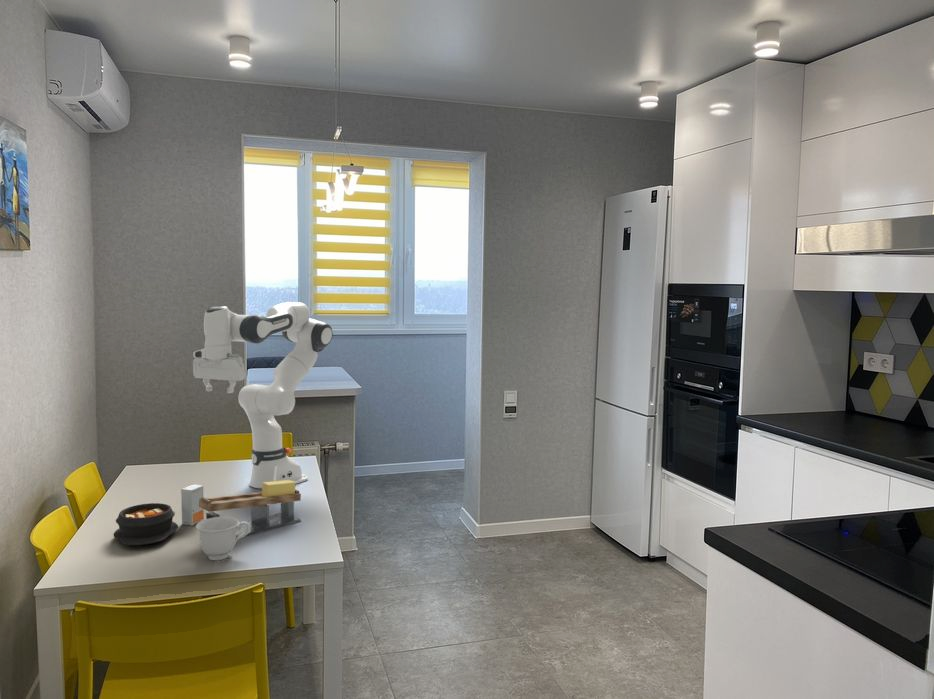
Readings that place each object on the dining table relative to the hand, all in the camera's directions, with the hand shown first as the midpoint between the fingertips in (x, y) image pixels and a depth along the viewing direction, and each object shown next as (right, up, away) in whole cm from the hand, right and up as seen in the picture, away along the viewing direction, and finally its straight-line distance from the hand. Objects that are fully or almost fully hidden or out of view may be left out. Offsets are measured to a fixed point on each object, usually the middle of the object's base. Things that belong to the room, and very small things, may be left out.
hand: (219, 392), depth 251 cm
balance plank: (+17, -35, -20) cm, 44 cm away
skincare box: (-4, -43, -14) cm, 45 cm away
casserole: (-14, -44, -26) cm, 53 cm away
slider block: (+24, -34, -13) cm, 43 cm away
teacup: (+16, -46, -42) cm, 64 cm away
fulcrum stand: (+17, -43, -19) cm, 50 cm away
